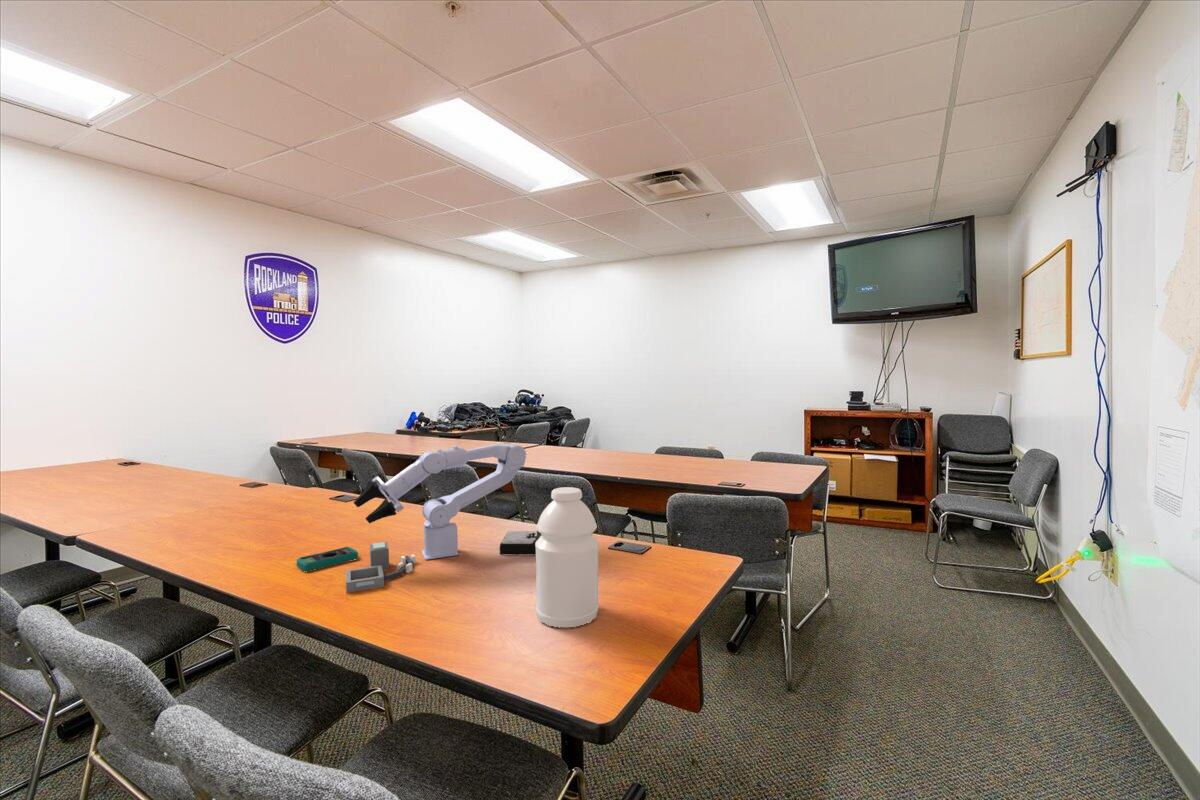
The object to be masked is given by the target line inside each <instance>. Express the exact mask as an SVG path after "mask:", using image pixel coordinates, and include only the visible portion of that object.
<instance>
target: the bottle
mask: <svg viewBox="0 0 1200 800" xmlns="http://www.w3.org/2000/svg"><path fill="white" fill-rule="evenodd" d="M550 497H551V499H552V501H551V502H550V503H548V505H547V506H546V507H545V508H544V509H543V511H542V512H541V514H540V516H539V518H538V521H537V524H536V531H538V532H539V533H540V534H541V537H540V538H539V539H538V540H537V541H536V542H535V547H536V555H535V594H536V595H535V596H536V599H535V601H536V604H535V611H536V619H538V620H539V621H540V623H542V622H543V623H545V624H544V625H546V624H547V625H546V626H548V625H549V626H548V627H551V626H554V627H553V628H556V627H559V628H558V629H561V628H560V627H572V626H578V625H582V624H585V623H587V622H590V621H591V620H592V619H594V618H595V617H596V618H597V616H598V614H599V607H600V604H599V541H598V539H597V538H596V537H595V536H594V534H593V533H595V531H596V530H597V528H598V525H597V523H596V519H595V516H594V515H593V513H592V512H591V510H590V508H589V507H588V505H586V504H585V502H583V501H582V500H581V499H582V498H583V492H582V489H580V488H578V487H572V486H571V487H570V486H568V487H566V486H564V487H556V488H554V489H553V490H551V494H550ZM597 613H598V614H597ZM596 618H595V619H596ZM595 619H594V620H595ZM543 623H542V624H543ZM590 623H591V622H590Z"/></svg>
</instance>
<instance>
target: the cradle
mask: <svg viewBox="0 0 1200 800" xmlns="http://www.w3.org/2000/svg"><path fill="white" fill-rule="evenodd" d="M383 575H384V571H383V570H382V565H379V566H372V567H370V566H366V567H359V568H354V569H346V570H345V586H346V588H345V590H346V591H345V592H346V593H347V594H348V593H352V592H359V591H365V590H366V591H367V590H371V589H377V588H378V589H379V588H382V587H383V588H384V586H385V581H384V576H383ZM368 577H370V578H368ZM362 578H363V579H362ZM355 579H357V580H355Z"/></svg>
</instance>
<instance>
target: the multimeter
mask: <svg viewBox="0 0 1200 800" xmlns="http://www.w3.org/2000/svg"><path fill="white" fill-rule="evenodd" d="M540 537H541V534H540V533H539V532H538V531H537V530H509V531H507V533H505V536H504V537H503V539H502V541H501V542H500V544H499V555H500V554H517V555H516V556H519V555H518V554H536V547H535V542H536V541H537V540H538V539H539V538H540Z"/></svg>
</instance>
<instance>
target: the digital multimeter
mask: <svg viewBox="0 0 1200 800" xmlns="http://www.w3.org/2000/svg"><path fill="white" fill-rule="evenodd" d="M354 559H357V560H359V553H358V551H357V550H356V549H355V548H353V547H349V546H345V547H341V548H336V549H332V550H328V551H324V552H318V553H314V554H310V555H305V556H301V557H298V558H296V566H298V567H299V568H300V569H301V571H302V570H303V572H304V571H305V572H304V573H307V572H306V571H309V572H311V571H310V570H313V571H315V570H314V569H317V570H320V569H323V568H322V567H324V568H327V567H326V566H328V567H331V566H330V565H332V566H335V565H334V564H336V565H339V564H338V563H340V564H343V563H342V562H344V563H347V562H346V561H348V562H351V561H350V560H353V561H355V560H354ZM298 567H297V568H298ZM299 568H298V569H299ZM319 568H320V569H319ZM300 569H299V570H300Z"/></svg>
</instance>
